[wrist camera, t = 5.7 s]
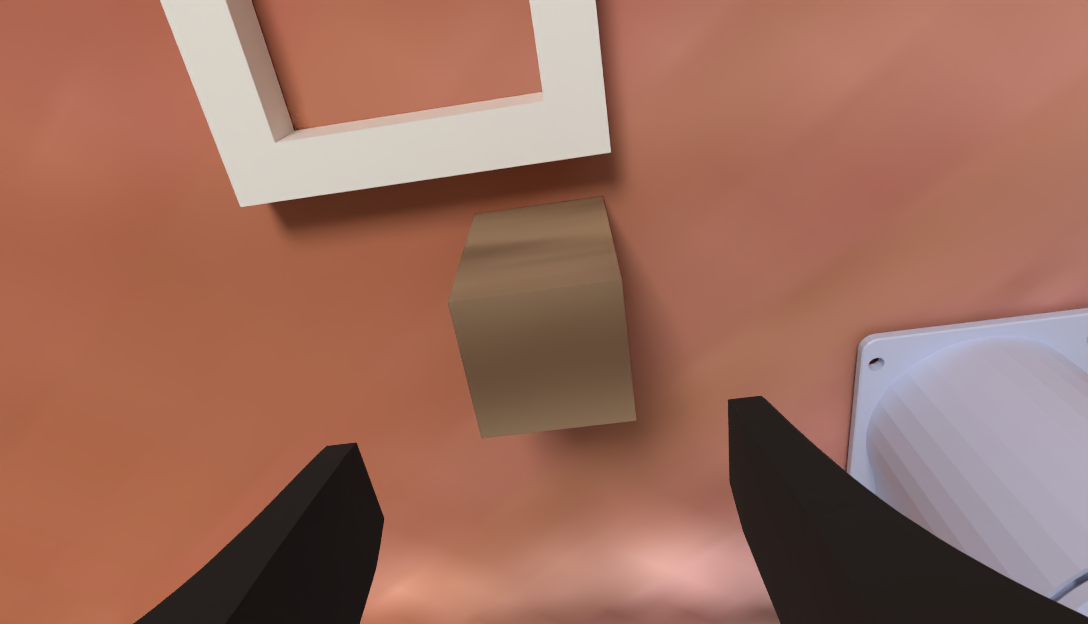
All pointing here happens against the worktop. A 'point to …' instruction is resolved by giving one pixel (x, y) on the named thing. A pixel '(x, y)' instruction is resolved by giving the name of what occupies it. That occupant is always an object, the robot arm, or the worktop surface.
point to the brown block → (543, 320)
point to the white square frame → (392, 141)
